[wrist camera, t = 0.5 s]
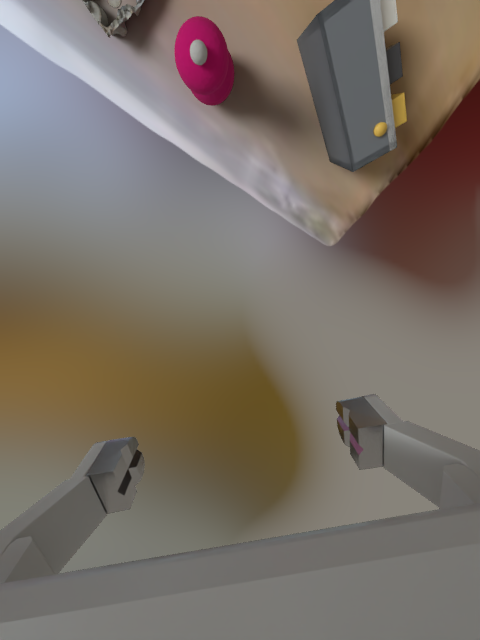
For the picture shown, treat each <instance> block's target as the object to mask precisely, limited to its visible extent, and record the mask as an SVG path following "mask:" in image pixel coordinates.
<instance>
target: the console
mask: <svg viewBox="0 0 480 640" xmlns="http://www.w3.org/2000/svg"><path fill="white" fill-rule="evenodd" d="M297 42H298V46H299V50H300V53H301V57H302V61H303V64H304V68H305V72H306V75H307V79H308V83H309V86H310V90H311V94H312V97H313V101H314V105H315V108H316V112H317V116H318V119H319V123H320V127H321V130H322V134H323V138H324V141H325V145H326V149H327V152H328V156H329V160H330V162H332V163H334V164H337V165H339V166H341V167H343V168H345V169H347V170H350V171H352V172H354V171H356V170H357V169H359V168H361V167H363V166H364V165H366V164H368V163H370V162H372V161H373V160H375V159H377V158H379V157H380V156H382V155H384V154H386V153H387V152H389V151H391V150H393V149H395V148H396V147H397V141H396V133H395V124H394V116H393V107H392V99H391V91H390V82H389V74H388V65H387V57H386V48H385V40H384V31H383V23H382V14H381V6H380V0H335V1H333V2H332V3H331V4H330V5H328V6H327V7H326V8H325V9H323V10H322V11H321V12H320V13H318V14H317V15H316V17H315V18H314V19H313V20H312V22H311V23H310V24H309V25H308V27H307V28H306V29H305V30H304V32H303V33H302V34H301V35H300V37H299V38H298V39H297Z"/></svg>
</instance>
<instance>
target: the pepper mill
mask: <svg viewBox="0 0 480 640" xmlns="http://www.w3.org/2000/svg"><path fill="white" fill-rule="evenodd" d="M175 61H176V66H177V69H178V72H179V74H180V76H181V78H182V80H183V81H184V83H185V84H186V85H187V87H188V88H189V89H191V91H192V93H193V94H194V95H195V97H196V98H197V99H198V100H199V101H201V102H202V103H204V104H206V105H218V104H220V103H222V102H223V101H224V100H225V99H226V98H227V97H228V95H229V94H230V92H231V90H232V87H233V82H234V65H233V61H232V58H231V55H230V53H229V51H228V49H227V45H226V42H225V39H224V37H223V35H222V33H221V31H220V30H219V28H218V27H217V26H216V25H215V24H214V23H213V22H212V21H211V20H209V19H207V18H205V17H199V16H197V17H192V18H190V19H188V20H187V21H186V22H185V23H184V24H183V25H182V26H181V28H180V30H179V32H178V35H177V38H176V42H175Z"/></svg>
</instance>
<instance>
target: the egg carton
mask: <svg viewBox="0 0 480 640" xmlns="http://www.w3.org/2000/svg"><path fill="white" fill-rule="evenodd" d="M82 1H83V3H84V4H85V5H86V6H87V8H88V9H89V11H90V13H91V14H92V16H93V17H94V18H95V20H96V21H97V23H98V24H100V26H101V27H102V28H103V30H104V31H105V33H106V34H107V35H108V37H109V38H110V35H112V36H113V35H115V34H120V35H121V36H125V35H126V33H127V31H128V30H127V28H126V24H125V21H127V20H128V19H129V17H130V16H131V14H132V13H135V14H136V15H137V16H138V15H139V12H140V10H141V5H142V3H143V2H144V0H136V2H137V5H136V6H135V7H133V6H131V5H128V4H126V6H122V7H121V9H118V15H117V16H118V17H117V18H116V19H115V20H114V21H113V22H112V23H111V25H110V26H109V27H107V25H108V19H107V15H106V13H105V12H104V10H103V9H102V8H101V7H100V6H99V5H97V4H96V3H95V2H93V1H88V2H87V0H82ZM107 2H108V4H109V5H110V6H112V7H113V8H118V7H119V6H120V4H121V0H107Z"/></svg>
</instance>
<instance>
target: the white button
mask: <svg viewBox="0 0 480 640" xmlns="http://www.w3.org/2000/svg"><path fill="white" fill-rule="evenodd" d="M380 6H381V14H382V23H383V31H386V30H387V29H389V28H390V27H391V26H393V25H394V24H396V23H397V22H398V20H397V9H396V0H380Z"/></svg>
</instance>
